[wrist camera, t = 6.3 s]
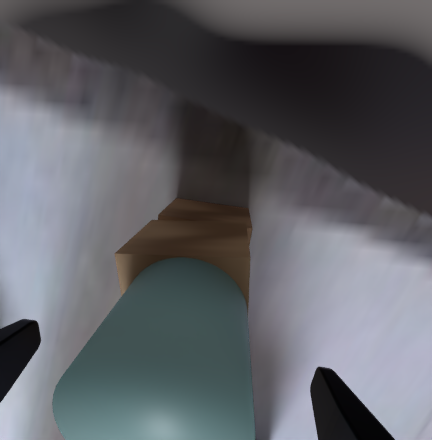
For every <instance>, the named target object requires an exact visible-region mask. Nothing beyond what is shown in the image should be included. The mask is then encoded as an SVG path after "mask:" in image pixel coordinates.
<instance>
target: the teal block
mask: <svg viewBox="0 0 432 440" xmlns="http://www.w3.org/2000/svg"><path fill="white" fill-rule="evenodd" d="M52 403H53V413H54V417H55V421H56V423H57V426H58V428H59V430H60V432H61V433H62V435H63V437H64V438H65V439H66V440H255V421H254V405H253V390H252V375H251V359H250V344H249V328H248V313H247V305H246V300H245V298H244V295H243V293H242V291H241V289H240V288H239V286H238V285H237V283H236V282H235V281H234V280H233V279H232V278H231V277H230V276H229V275H228V274H227V273H225V272H224V271H223V270H221V269H220V268H218V267H216V266H214V265H212V264H210V263H208V262H205V261H202V260H198V259H193V258H185V257H178V258H169V259H164V260H161V261H158V262H156V263H153V264H151V265H150V266H148V267H146V268H145V269H144V270H143V271H141V272H140V273H139V274H138V276H137V277H136V278H135V279H134V281H133V282H132V283H131V285H130V286H129V287H128V289H127V290H126V291H125V293H124V294H123V295H122V297H121V298H120V299H119V301H118V302H117V303H116V305H115V306H114V307H113V309H112V310H111V311H110V313H109V314H108V315H107V317H106V318H105V319H104V321H103V322H102V323H101V325H100V326H99V327H98V329H97V330H96V332H95V333H94V334H93V336H92V337H91V338H90V340H89V341H88V342H87V344H86V345H85V346H84V348H83V349H82V350H81V352H80V353H79V354H78V356H77V357H76V358H75V360H74V361H73V362H72V364H71V365H70V366H69V368H68V369H67V370H66V372H65V373H64V374H63V376H62V377H61V379H60V380H59V382H58V384H57V385H56V388H55V391H54V394H53V402H52Z"/></svg>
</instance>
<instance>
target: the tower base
mask: <svg viewBox="0 0 432 440" xmlns="http://www.w3.org/2000/svg"><path fill="white" fill-rule="evenodd" d="M158 220H183V221H245V222H246V226H247V234H248V243H249V244H250V239H251V233H252V224H251V218H250V213H249V208H243V207H236V206H229V205H222V204H215V203H208V202H201V201H193V200H186V199H179V198H176V199H175V200H174V201H173V202H172V203H171V204H169V205H168V206H167V207H166V208H165V209H164V210H163V211H162V212H161V213H160V214H159V215H158Z"/></svg>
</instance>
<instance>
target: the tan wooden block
mask: <svg viewBox="0 0 432 440" xmlns="http://www.w3.org/2000/svg"><path fill="white" fill-rule="evenodd" d="M178 257H185V258H193V259H198V260H202V261H205V262H208V263H210V264H212V265H214V266H216V267H218V268H220V269H221V270H223V271H224V272H225V273H227V274H228V275H229V276H230V277H231V278H232V279H233V280H234V281H235V282H236V283H237V285H238V286H239V288H240V289H241V291H242V293H243V295H244V298H245V300H246V305H247V313H248V303H249V277H250V251H249V243H248V234H247V226H246V222H245V221H183V220H151V221H150V222H149V223H148V224H147V225H146V226H145V227H143V228H142V229H141V230H140V231H139V232H138V233H137V234H136V235H135V236H134V237H132V238H131V239H130V240H129V241H128V242H127V243H126V244H125V245H124V246H123V247H121V248H120V249H119V250H118V251H117V252H116V253H115V259H116V265H117V271H118V277H119V283H120V289H121V295H123V294H124V293H125V291H126V290H127V289H128V287H129V286H130V285H131V283H132V282H133V281H134V279H135V278H136V277H137V276H138V274H139V273H140V272H141V271H143V270H144V269H145V268H146V267H148V266H150V265H151V264H153V263H156V262H158V261H161V260H164V259H169V258H178Z"/></svg>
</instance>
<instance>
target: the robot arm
mask: <svg viewBox="0 0 432 440" xmlns="http://www.w3.org/2000/svg"><path fill="white" fill-rule="evenodd" d="M40 342H41V337H40V331H39V325H38V322H37V321H35V320H29V319H22V320H19V321H17V322H15V323H13V324H10V325H8V326H6V327H4V328H1V329H0V402H1V401H2V400H3V398H4V397H5V396H6V394H7V393H8V392H9V390H10V389H11V387H12V386H13V384H14V383H15V381H16V380H17V378H18V377H19V375H20V374H21V373H22V371H23V370H24V368H25V367H26V365H27V364H28V362H29V361H30V359H31V358H32V356H33V355H34V354H35V352H36V351H37V349H38V347H39V345H40ZM310 393H311V399H312V405H313V411H314V417H315V423H316V429H317V435H318V440H395V439H394V438H393V437H392V436H391V434H390V433H389V432H388V431H387V430H386V429H385V428H384V427H383V425H382V424H381V423H380V422H379V421H378V420H377V419H376V418H375V416H374V415H373V414H372V413H371V412H370V411H369V410H368V409H367V408H366V406H365V405H364V404H363V403H362V402H361V401H360V400H359V399H358V397H357V396H356V395H355V394H354V393H353V392H352V391H351V390H350V388H349V387H348V386H347V385H346V384H345V383H344V382H343V381H342V379H341V378H340V377H339V376H338V375H337V374H336V373H335V372H334V371H333V370H332V369H330V368H325V367H318V368H317V369H316V371H315V374H314V377H313V380H312V383H311V387H310Z"/></svg>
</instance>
